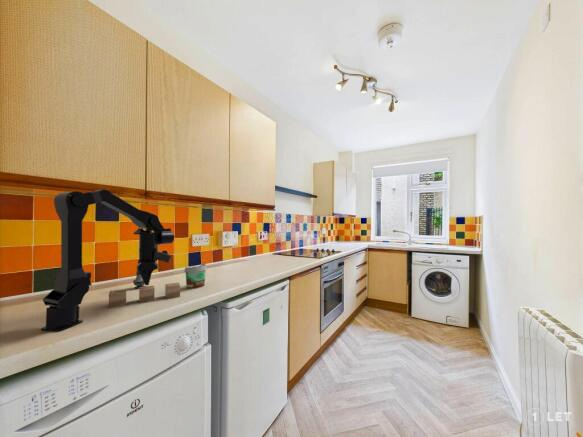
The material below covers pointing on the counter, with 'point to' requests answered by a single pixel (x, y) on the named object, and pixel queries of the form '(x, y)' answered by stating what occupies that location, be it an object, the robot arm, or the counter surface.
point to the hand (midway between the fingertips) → (147, 285)
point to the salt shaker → (138, 280)
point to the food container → (195, 276)
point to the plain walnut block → (146, 294)
